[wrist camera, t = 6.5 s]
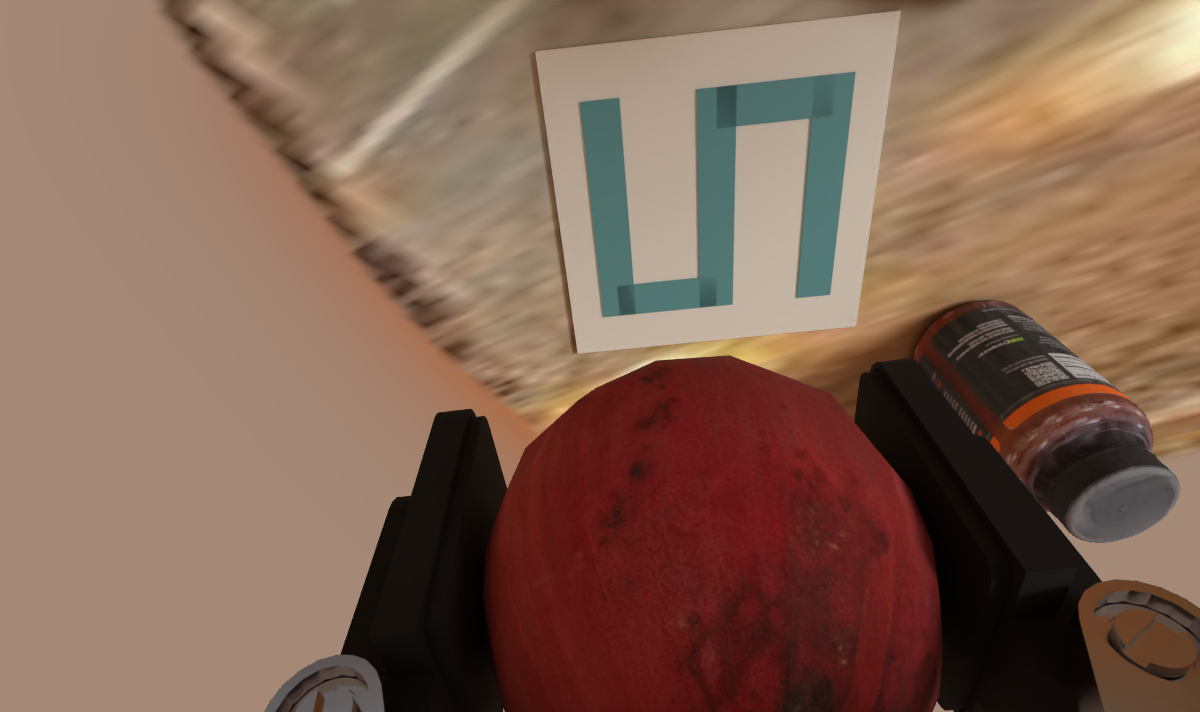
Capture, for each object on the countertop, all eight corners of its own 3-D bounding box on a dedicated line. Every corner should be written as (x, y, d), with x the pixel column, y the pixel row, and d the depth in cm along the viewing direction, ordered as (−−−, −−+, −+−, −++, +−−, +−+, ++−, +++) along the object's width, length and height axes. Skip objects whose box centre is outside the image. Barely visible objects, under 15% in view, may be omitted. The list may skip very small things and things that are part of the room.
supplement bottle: (949, 409, 35) (1084, 582, 26) (884, 353, 33) (1006, 520, 24) (1049, 338, 33) (1239, 500, 23) (986, 272, 31) (1167, 421, 21)
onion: (578, 212, 10) (574, 824, 3) (891, 329, 11) (1371, 938, 4) (474, 474, 13) (354, 1080, 6) (730, 541, 14) (868, 1102, 7)
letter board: (535, 51, 25) (535, 52, 25) (899, 10, 24) (902, 10, 24) (577, 351, 32) (577, 354, 32) (854, 324, 32) (856, 327, 32)
